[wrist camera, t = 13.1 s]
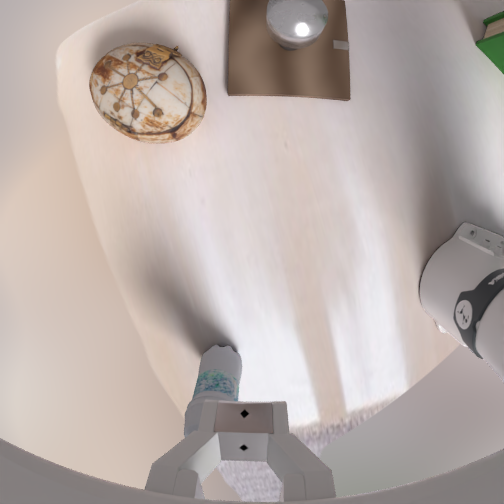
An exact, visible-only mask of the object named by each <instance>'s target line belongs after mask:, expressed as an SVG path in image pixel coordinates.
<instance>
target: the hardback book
mask: <svg viewBox="0 0 504 504" xmlns="http://www.w3.org/2000/svg"><path fill="white" fill-rule="evenodd" d="M483 23H484V24H485V25H486V26H487V30H486V33H485V36H484V39H482V40H480V41H477V43H476V46H477V47H478V48H479V49H480V50H481V51H482V52H483V53H484V54H485V55H486V56H487V57H488V58H489V59H490V60H491V61H492V62H493V63H494V64H495V65H496V66H497V67H498V69H499V70H500V71H501V72H502V73H503V74H504V11H502V12H500V13H498V14H496V15H493V16H491V17H489V18H487V19H485V20H484V22H483Z"/></svg>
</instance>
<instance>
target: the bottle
mask: <svg viewBox="0 0 504 504" xmlns="http://www.w3.org/2000/svg"><path fill="white" fill-rule="evenodd" d="M241 373H242V360H241V357H240V354H239V353H237V352H234V351H233V349H232V348H231V346H228V345H226V347H219V345H214V346H212V347H211V348H210V349H209V350H208V351H206V352H205V353H204V354H203V356H202V359H201V362H200V367H199V374H198V379H197V383H196V387H195V391H194V395H193V398H192V401H191V402H190V403H189V404H188V407H187V410H186V413H185V427H184V436H185V438H186V437H187V436H188V435H189V434H190V433H192V432H193V431H194V430H195V431H198V428H199V423H200V419H201V414H202V409H203V404H204V401H205V399H208V400H223V401H238V393H239V383H240V378H241Z"/></svg>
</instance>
